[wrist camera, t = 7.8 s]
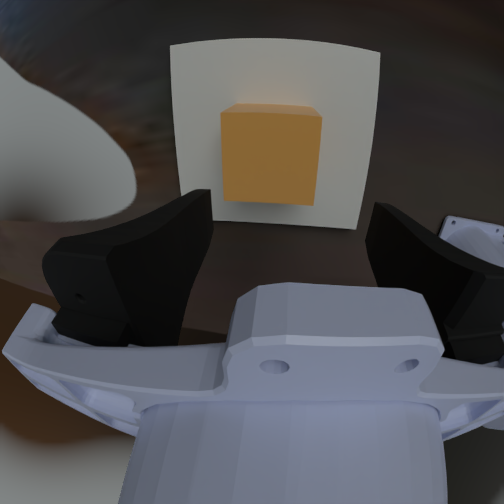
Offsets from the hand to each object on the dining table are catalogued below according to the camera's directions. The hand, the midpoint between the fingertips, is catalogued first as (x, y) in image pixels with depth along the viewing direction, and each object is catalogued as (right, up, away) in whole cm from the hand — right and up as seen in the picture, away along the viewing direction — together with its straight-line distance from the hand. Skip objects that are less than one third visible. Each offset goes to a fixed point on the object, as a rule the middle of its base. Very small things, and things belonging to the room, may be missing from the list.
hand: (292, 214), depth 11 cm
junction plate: (0, +7, +7) cm, 10 cm away
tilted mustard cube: (0, +6, +6) cm, 9 cm away
